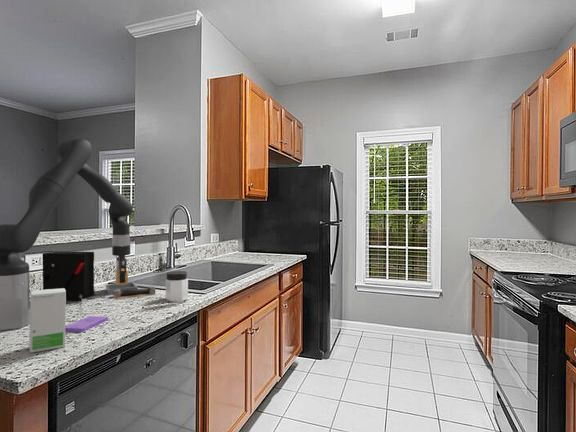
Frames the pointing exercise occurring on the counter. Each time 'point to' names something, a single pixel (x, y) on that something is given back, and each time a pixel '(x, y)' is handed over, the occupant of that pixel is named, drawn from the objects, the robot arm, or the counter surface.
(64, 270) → the electrical component
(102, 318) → the sponges
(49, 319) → the skincare box
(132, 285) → the tray
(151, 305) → the counter surface
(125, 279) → the orange block
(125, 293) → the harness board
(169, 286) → the jar
